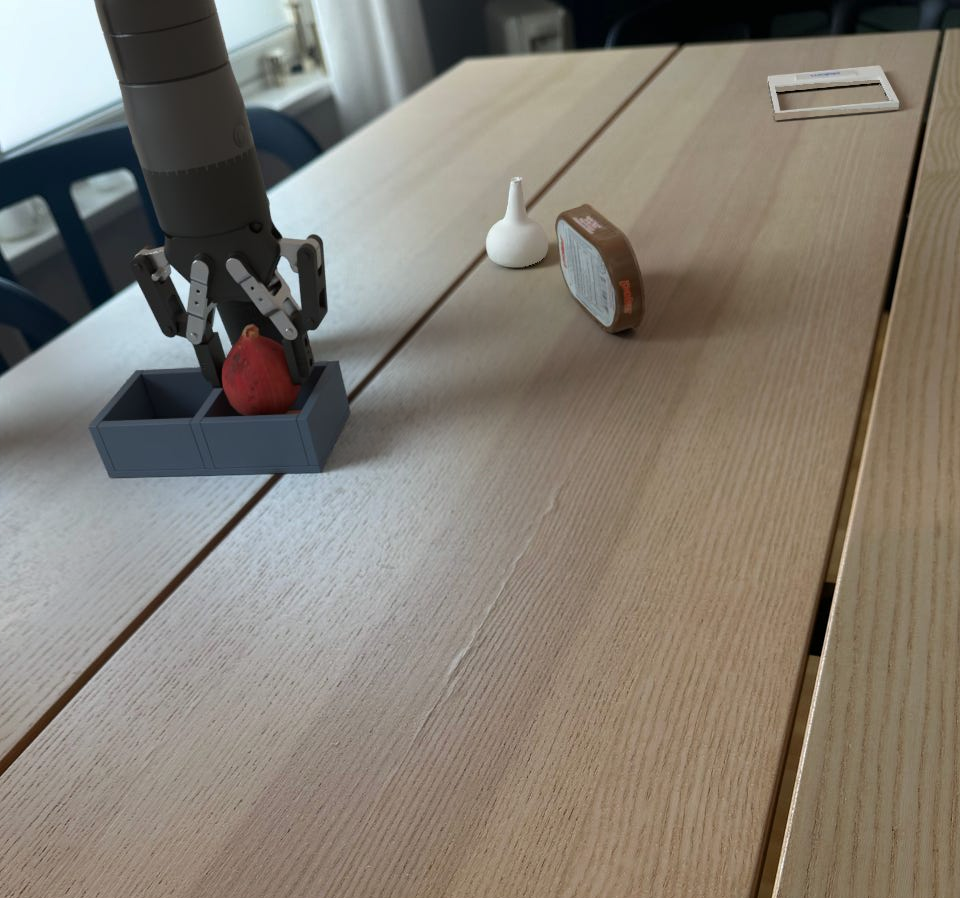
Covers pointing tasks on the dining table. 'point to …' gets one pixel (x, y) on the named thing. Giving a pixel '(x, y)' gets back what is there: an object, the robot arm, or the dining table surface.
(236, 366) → the pomegranate
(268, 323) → the drinking cup
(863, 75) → the photo frame
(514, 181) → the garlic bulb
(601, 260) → the tin
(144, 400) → the compartment box
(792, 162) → the dining table surface
